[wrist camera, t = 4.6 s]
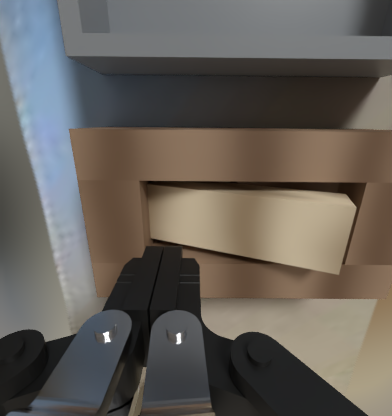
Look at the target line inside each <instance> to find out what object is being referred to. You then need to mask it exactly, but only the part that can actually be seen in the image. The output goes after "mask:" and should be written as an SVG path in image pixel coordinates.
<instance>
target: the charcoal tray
mask: <svg viewBox="0 0 392 416" xmlns="http://www.w3.org/2000/svg"><path fill="white" fill-rule="evenodd" d="M57 2H58V9H59V15H60V21H61V28H62V34H63V40H64V47H65V53H66V56H67V57H69V58H71V59H73V60H75V61H77V62H79V63H81V64H83V65H85V66H87V67H89V68H91V69H93V70H95V71H97V72H99V73H101V74H113V75H209V76H305V77H384V76H388V75H392V0H57Z"/></svg>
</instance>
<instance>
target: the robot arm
mask: <svg viewBox="0 0 392 416" xmlns="http://www.w3.org/2000/svg"><path fill="white" fill-rule="evenodd" d="M143 367H147V369H146V377H145V385H144V393H143V402H142V409H141V413H140V415H138V416H368V415H367V414H365V413H364V412H363V411H362V410H360V409H359V408H358V407H357V406H356V405H354V404H353V403H352V402H351V401H349V400H348V399H347V398H346V397H345V396H343V395H342V394H341V393H340V392H338V391H337V390H336V389H335V388H333V387H332V386H331V385H330V384H329V383H327V382H326V381H325V380H324V379H322V378H321V377H320V376H319V375H317V374H316V373H315V372H314V371H313V370H311V369H310V368H309V367H308V366H306V365H305V364H304V363H303V362H301V361H300V360H299V359H298V358H297V357H295V356H294V355H293V354H292V353H290V352H289V351H288V350H287V349H285V348H284V347H283V346H282V345H281V344H279V343H278V342H277V341H276V340H274V339H273V338H271V337H269V336H268V335H265V334H263V333H259V332H247V333H243V334H241V335H239V336H238V337H237V338H236V339H235V340H230V339H227V338H224V337H221V336H218V335H216V334H215V333H213V332H212V331H210V330H209V329H208V328H207V327H206V326H205V324H204V323H203V321H202V318H201V301H200V265H199V264H198V263H197V261H196V260H195V258H183V250H182V246H165V248H164V246H146V248H145V250H144V253H143V256H142V258H132V259H131V260H130V261H129V262H127V263H126V264H125V265H124V267H123V269H122V271H121V273H120V276H119V277H118V279H117V283H115V286H114V288H113V290H112V292H111V294H110V296H109V298H108V300H107V302H106V304H105V306H104V308H103V310H102V312H100V313H98V314H96V315H94V316H92V317H91V318H89V319H88V320H87V321H86V322H85V323H84V324H83V325H82V327H81V328H80V330H79V331H78V333H77V334H74V335H71V336H68V337H64V338H60V339H56V340H52V341H48V342H45V340H44V337H43V335H42V334H41V333H40V332H39V331H36V330H21V331H17V332H14V333H12V334H9V335H7V336H5V337H3V338H1V339H0V416H133V414H134V411H135V407H136V403H137V400H138V396H139V383H140V378H141V374H142V369H143Z"/></svg>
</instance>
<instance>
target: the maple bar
mask: <svg viewBox="0 0 392 416" xmlns="http://www.w3.org/2000/svg"><path fill="white" fill-rule="evenodd" d="M147 189H148V204H149V220H150V235H151V238H153V239H158V240H163V241H168V242H173V243H179V244H184V245H189V246H194V247H199V248H204V249H209V250H214V251H219V252H225V253H230V254H235V255H240V256H245V257H250V258H255V259H260V260H265V261H271V262H276V263H281V264H286V265H291V266H296V267H301V268H306V269H312V270H317V271H322V272H327V273H332V274H337V275H339V272H340V268H341V265H342V261H343V257H344V253H345V250H346V246H347V242H348V238H349V235H350V231H351V227H352V223H353V220H354V216H355V212H356V208H357V207H356V206H355V205H354V204H353V202H352V201H351V200H350V199H349V197H348V196H347V195H346V194H341V193H330V192H320V191H309V190H299V189H289V188H278V187H268V186H257V185H247V184H237V183H226V182H216V181H154V182H151V183H149V184H147Z"/></svg>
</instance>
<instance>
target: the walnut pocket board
mask: <svg viewBox="0 0 392 416" xmlns="http://www.w3.org/2000/svg"><path fill="white" fill-rule="evenodd" d="M69 133H70V139H71V145H72V150H73V156H74V162H75V168H76V174H77V180H78V186H79V192H80V198H81V203H82V209H83V215H84V221H85V227H86V233H87V239H88V245H89V250H90V256H91V262H92V268H93V274H94V280H95V286H96V292H97V297H109V296H110V294H111V292H112V290H113V288H114V286H115V283H117V279H118V277H119V276H120V273H121V271H122V269H123V267H124V265H125V264H126V263H127V262H129V261H130V260H131V259H132V258H142V256H143V253H144V250H145V248H146V246H164V248H165V246H182V250H183V258H195V260H196V261H197V263H198V264H199V265H200V298H311V299H386V297H387V295H388V292H389V289H390V287H391V284H392V130H374V129H291V128H187V127H95V128H78V129H69ZM154 181H230V183H237V184H247V185H257V186H268V187H278V188H289V189H299V190H309V191H320V192H330V193H341V194H346V195H347V196H348V197H349V199H350V200H351V201H352V202H353V204H354V205H355V206H356V207H357V208H356V212H355V216H354V220H353V223H352V227H351V231H350V235H349V238H348V242H347V246H346V250H345V253H344V257H343V261H342V265H341V268H340V272H339V275H337V274H332V273H327V272H322V271H317V270H312V269H306V268H301V267H296V266H291V265H286V264H281V263H276V262H271V261H265V260H260V259H255V258H250V257H245V256H240V255H235V254H230V253H225V252H219V251H214V250H209V249H204V248H199V247H194V246H189V245H184V244H179V243H173V242H168V241H163V240H158V239H153V238H151V235H150V220H149V204H148V189H147V184H149V183H151V182H154Z"/></svg>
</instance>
